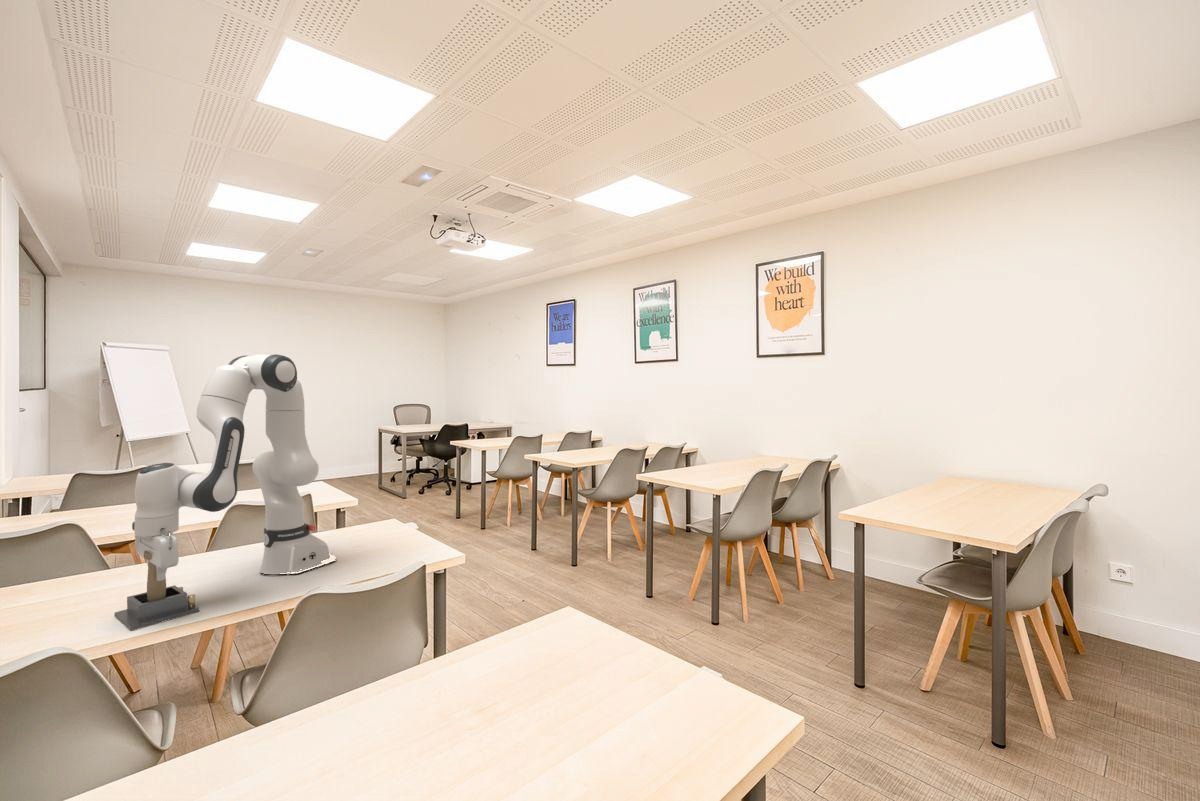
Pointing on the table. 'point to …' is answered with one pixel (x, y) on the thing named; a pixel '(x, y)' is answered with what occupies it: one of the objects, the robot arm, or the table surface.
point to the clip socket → (156, 608)
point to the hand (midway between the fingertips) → (157, 577)
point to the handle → (154, 581)
